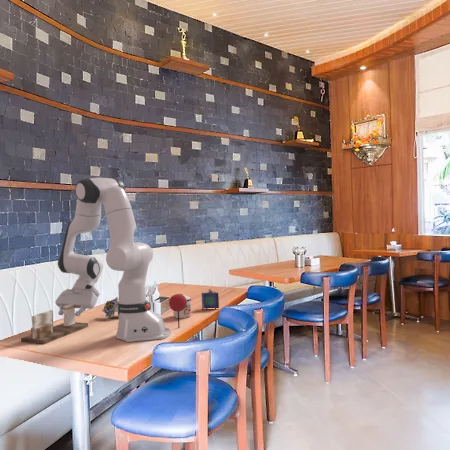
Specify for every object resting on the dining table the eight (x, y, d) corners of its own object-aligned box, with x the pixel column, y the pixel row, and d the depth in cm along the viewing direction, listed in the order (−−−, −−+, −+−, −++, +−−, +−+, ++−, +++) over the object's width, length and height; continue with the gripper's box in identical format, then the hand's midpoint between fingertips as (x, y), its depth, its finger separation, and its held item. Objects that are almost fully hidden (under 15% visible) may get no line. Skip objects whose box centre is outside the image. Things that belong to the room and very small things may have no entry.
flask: (201, 309, 214) (200, 289, 214) (202, 308, 217) (202, 288, 217) (218, 309, 212) (217, 289, 212) (219, 308, 215) (219, 288, 215)
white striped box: (71, 323, 186) (71, 303, 186) (75, 323, 186) (74, 304, 185) (63, 326, 182) (63, 306, 181) (67, 326, 181) (66, 306, 181)
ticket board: (67, 324, 191) (66, 302, 190) (88, 326, 186) (87, 303, 186) (20, 341, 165) (19, 315, 165) (43, 344, 161) (42, 317, 161)
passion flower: (109, 329, 200) (95, 309, 202) (123, 320, 210) (110, 301, 211) (121, 318, 195) (107, 299, 196) (135, 310, 205) (122, 291, 206)
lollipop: (190, 326, 180) (189, 293, 180) (179, 330, 174) (178, 296, 174) (177, 324, 185) (176, 292, 185) (166, 328, 178) (165, 295, 178)
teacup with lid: (186, 319, 194) (185, 295, 194) (169, 318, 198) (169, 294, 197) (197, 313, 205) (196, 290, 205) (181, 312, 209) (180, 290, 209)
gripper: (61, 285, 193) (46, 310, 184) (96, 286, 186) (83, 312, 177) (68, 292, 198) (54, 317, 189) (102, 294, 191) (90, 319, 182)
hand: (68, 315), depth 183 cm, fingers open, 8 cm apart
